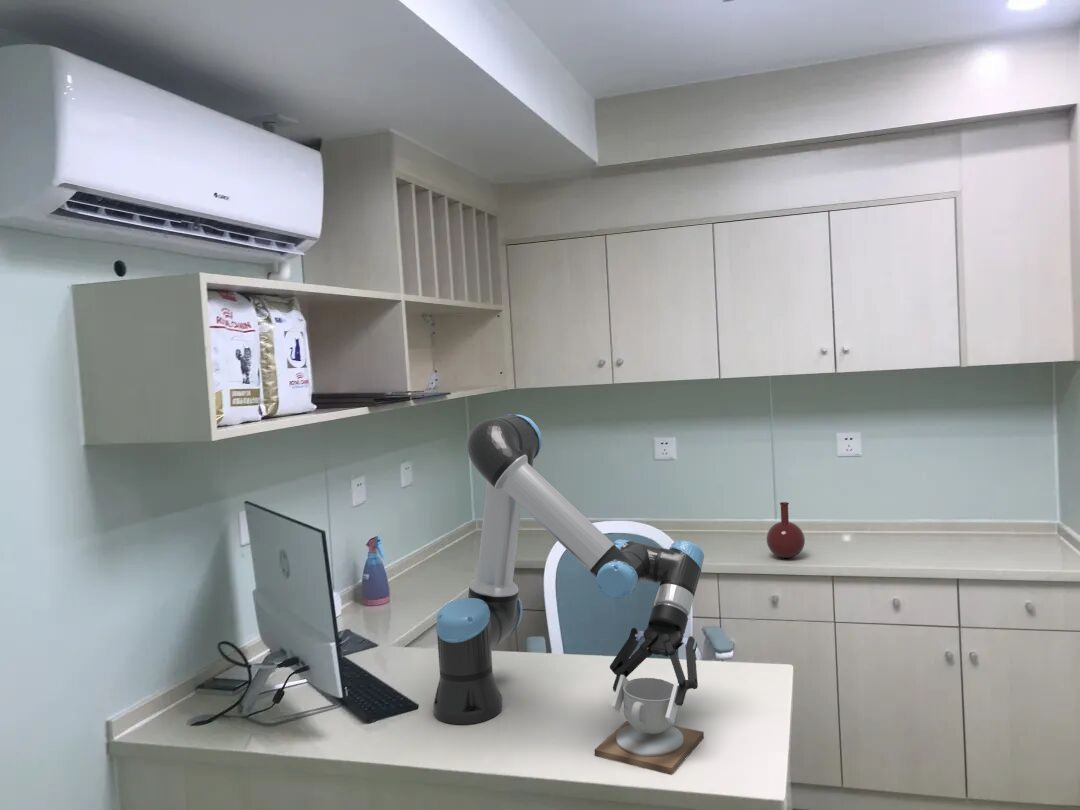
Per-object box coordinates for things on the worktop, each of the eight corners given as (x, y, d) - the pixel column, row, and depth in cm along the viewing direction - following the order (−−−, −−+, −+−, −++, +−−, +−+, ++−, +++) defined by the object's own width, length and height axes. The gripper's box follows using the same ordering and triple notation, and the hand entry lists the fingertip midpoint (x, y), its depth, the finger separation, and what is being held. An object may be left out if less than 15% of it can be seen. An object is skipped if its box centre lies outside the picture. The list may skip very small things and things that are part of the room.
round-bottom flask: (778, 552, 308) (776, 498, 306) (811, 556, 298) (810, 501, 297) (760, 559, 298) (758, 504, 297) (794, 564, 289) (792, 507, 288)
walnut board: (594, 755, 160) (594, 745, 160) (631, 722, 173) (630, 712, 173) (671, 774, 151) (671, 763, 151) (703, 737, 165) (703, 728, 165)
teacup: (642, 710, 171) (641, 672, 171) (689, 723, 164) (688, 683, 164) (604, 736, 160) (602, 696, 160) (653, 751, 153) (651, 709, 153)
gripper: (729, 627, 168) (704, 734, 156) (626, 613, 180) (595, 711, 168) (719, 609, 163) (693, 718, 151) (614, 596, 176) (581, 695, 163)
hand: (641, 714), depth 160 cm, fingers closed on teacup, 11 cm apart
